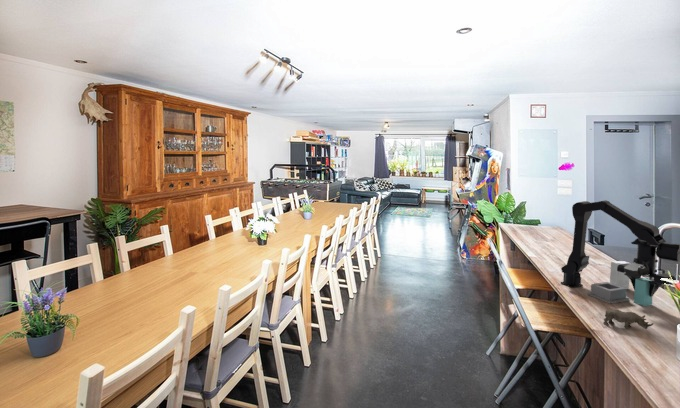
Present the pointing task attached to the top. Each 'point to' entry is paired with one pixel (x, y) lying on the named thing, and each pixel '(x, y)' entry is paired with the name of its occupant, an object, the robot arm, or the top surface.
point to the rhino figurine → (625, 318)
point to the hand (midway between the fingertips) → (643, 293)
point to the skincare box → (618, 275)
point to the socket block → (608, 292)
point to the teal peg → (642, 292)
